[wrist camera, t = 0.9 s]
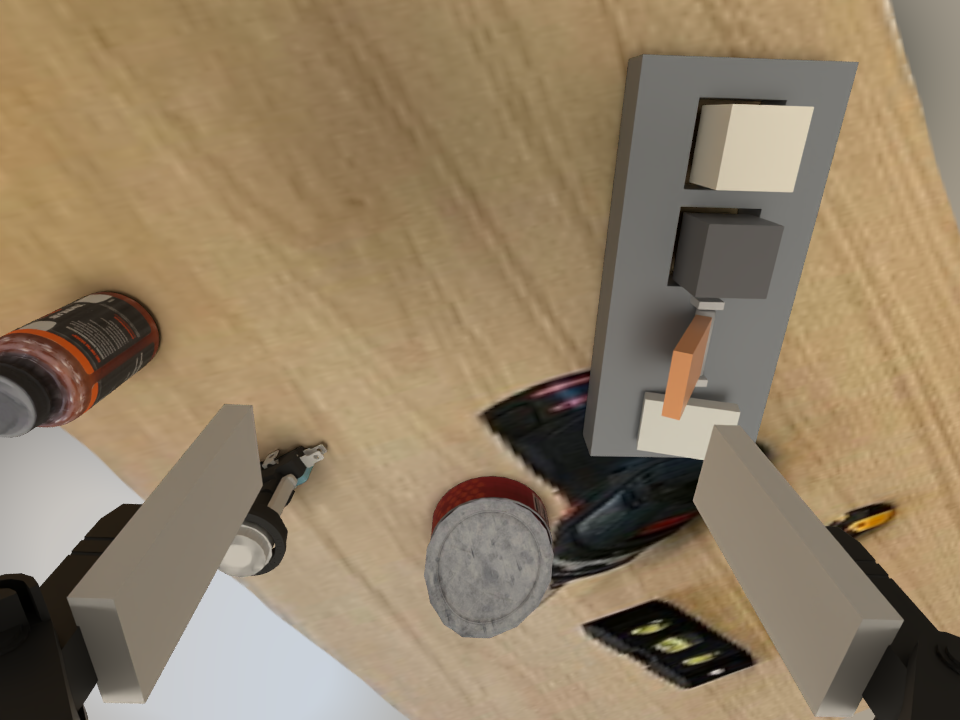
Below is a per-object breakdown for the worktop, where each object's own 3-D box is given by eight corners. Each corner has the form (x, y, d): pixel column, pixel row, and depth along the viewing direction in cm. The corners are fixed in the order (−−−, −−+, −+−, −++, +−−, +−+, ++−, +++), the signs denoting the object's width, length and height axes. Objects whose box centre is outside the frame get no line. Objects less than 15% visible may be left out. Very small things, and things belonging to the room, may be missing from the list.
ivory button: (702, 105, 32) (732, 103, 28) (774, 107, 32) (814, 106, 28) (689, 181, 33) (715, 190, 30) (757, 184, 33) (792, 192, 30)
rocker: (645, 391, 38) (645, 399, 37) (737, 403, 37) (740, 412, 36) (636, 440, 40) (636, 449, 39) (724, 454, 39) (727, 463, 38)
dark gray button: (683, 212, 34) (709, 224, 30) (751, 214, 34) (784, 226, 30) (672, 278, 36) (694, 297, 32) (736, 280, 36) (766, 299, 32)
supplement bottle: (85, 274, 38) (-60, 334, 27) (172, 312, 39) (64, 383, 29) (68, 346, 40) (-74, 427, 29) (151, 380, 41) (43, 469, 31)
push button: (307, 418, 42) (262, 501, 33) (345, 469, 44) (313, 560, 35) (237, 453, 44) (176, 543, 35) (278, 501, 46) (230, 598, 36)
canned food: (432, 494, 51) (377, 533, 42) (521, 444, 48) (482, 475, 39) (494, 604, 50) (451, 670, 41) (590, 561, 47) (566, 622, 37)
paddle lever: (697, 306, 36) (672, 346, 30) (717, 309, 36) (695, 351, 29) (685, 367, 38) (658, 418, 31) (704, 371, 37) (680, 424, 31)
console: (628, 59, 33) (650, 51, 29) (826, 66, 33) (875, 59, 29) (582, 434, 43) (594, 466, 39) (733, 436, 44) (760, 469, 40)
